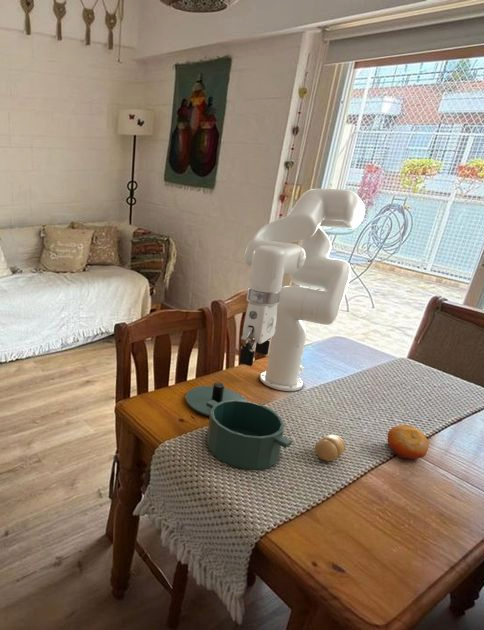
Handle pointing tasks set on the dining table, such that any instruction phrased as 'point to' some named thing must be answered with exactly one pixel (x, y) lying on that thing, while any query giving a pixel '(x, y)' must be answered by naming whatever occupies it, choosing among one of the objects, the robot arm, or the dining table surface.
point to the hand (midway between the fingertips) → (253, 358)
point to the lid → (210, 397)
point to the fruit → (407, 442)
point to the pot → (245, 434)
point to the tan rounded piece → (330, 447)
